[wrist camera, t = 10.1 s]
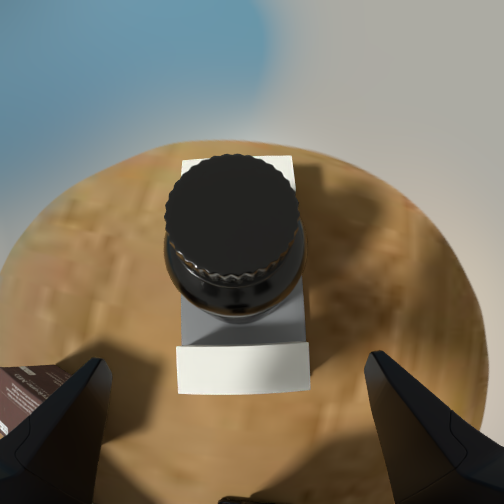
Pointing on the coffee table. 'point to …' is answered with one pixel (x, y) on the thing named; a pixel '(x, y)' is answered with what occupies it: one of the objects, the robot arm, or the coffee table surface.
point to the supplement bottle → (234, 238)
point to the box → (26, 391)
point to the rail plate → (245, 340)
